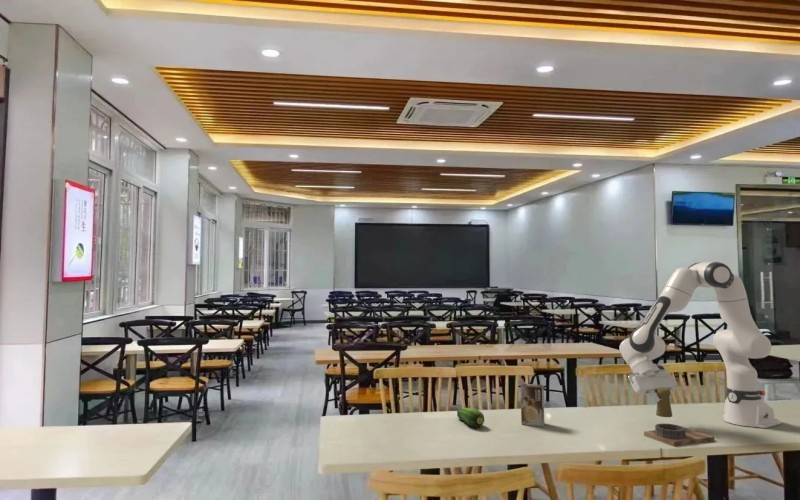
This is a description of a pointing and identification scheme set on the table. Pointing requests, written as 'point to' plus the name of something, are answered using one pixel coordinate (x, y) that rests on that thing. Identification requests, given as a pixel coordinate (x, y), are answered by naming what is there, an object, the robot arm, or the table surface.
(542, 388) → the coffee box
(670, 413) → the cork
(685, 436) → the caddy board
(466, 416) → the vegetable
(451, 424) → the table surface
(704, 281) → the robot arm
